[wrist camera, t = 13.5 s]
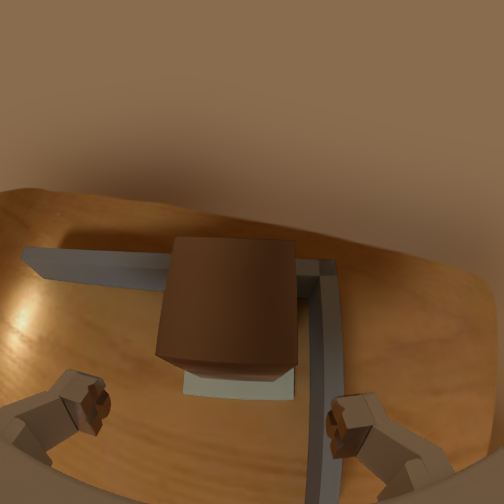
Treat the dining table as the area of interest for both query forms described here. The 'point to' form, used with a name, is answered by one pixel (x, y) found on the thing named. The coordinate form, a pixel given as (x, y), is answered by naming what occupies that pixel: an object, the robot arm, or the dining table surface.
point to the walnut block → (230, 308)
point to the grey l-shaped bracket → (321, 380)
